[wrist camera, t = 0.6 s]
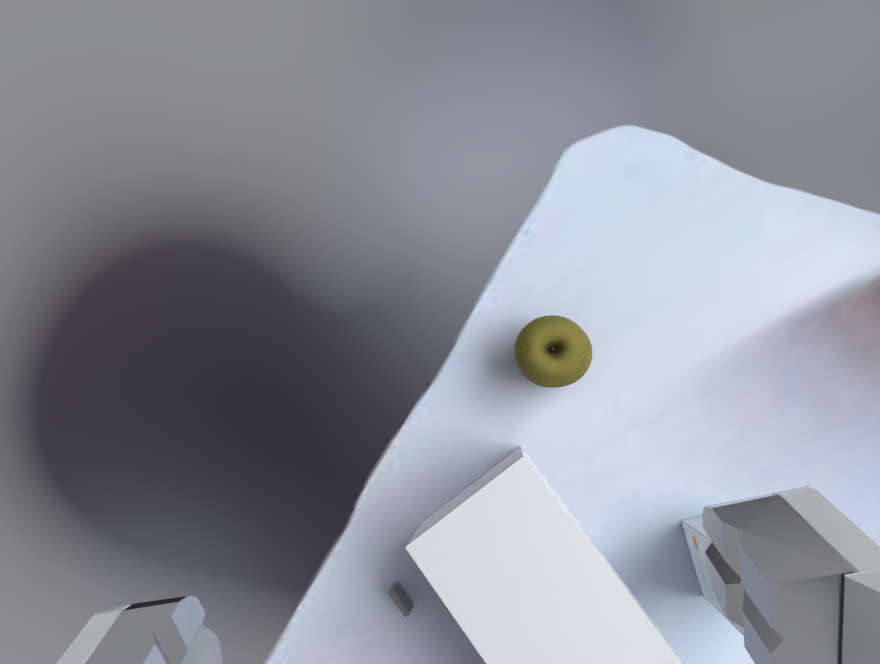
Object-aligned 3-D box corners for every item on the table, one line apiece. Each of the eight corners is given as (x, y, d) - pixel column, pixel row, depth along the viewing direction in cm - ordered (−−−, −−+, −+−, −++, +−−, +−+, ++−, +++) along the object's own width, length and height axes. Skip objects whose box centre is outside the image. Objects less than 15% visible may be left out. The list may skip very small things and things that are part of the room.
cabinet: (651, 617, 56) (683, 665, 46) (496, 735, 56) (494, 807, 46) (520, 446, 59) (523, 456, 49) (375, 558, 60) (349, 589, 50)
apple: (517, 318, 61) (519, 307, 54) (589, 325, 60) (600, 316, 53) (510, 383, 60) (511, 382, 53) (582, 392, 59) (593, 391, 52)
